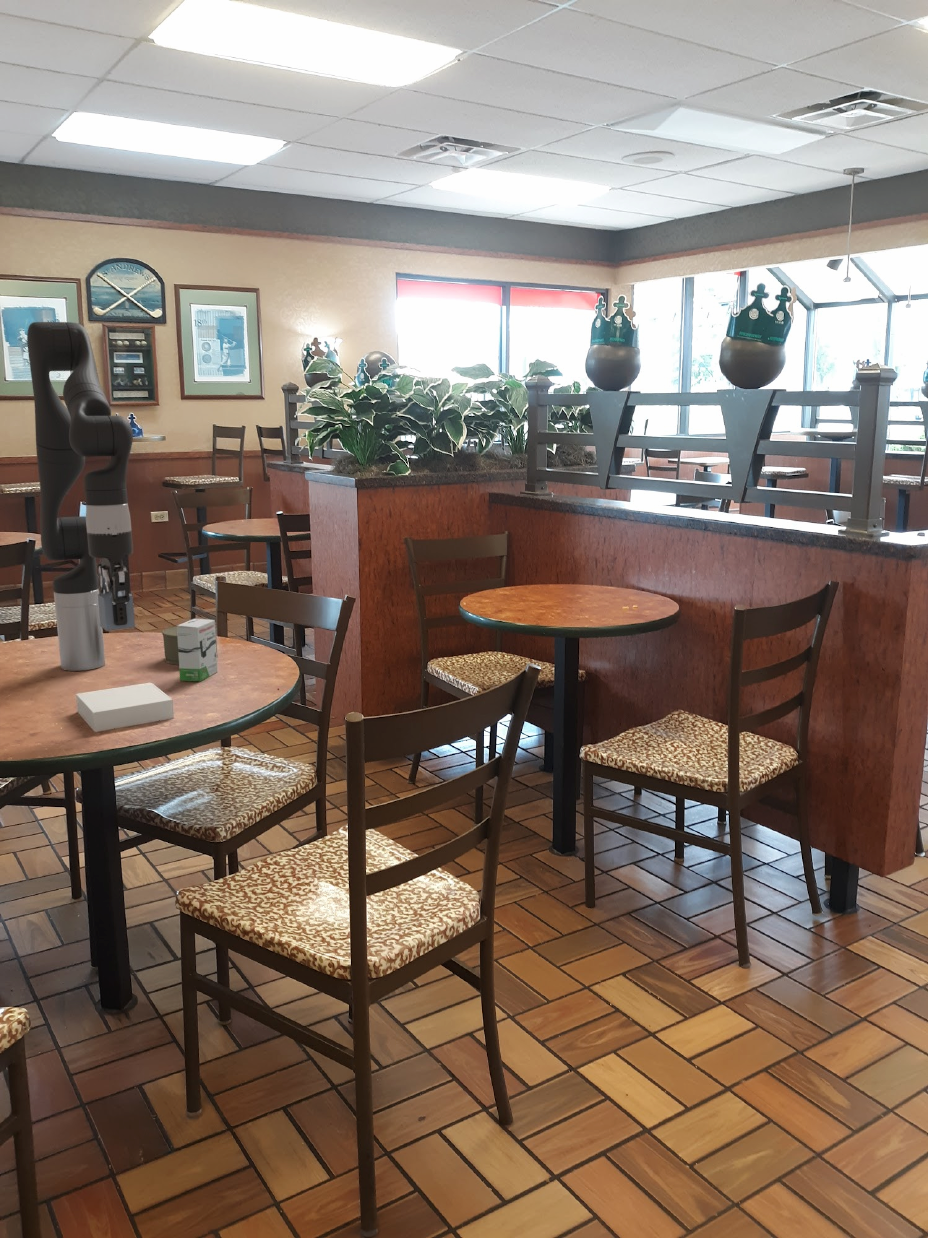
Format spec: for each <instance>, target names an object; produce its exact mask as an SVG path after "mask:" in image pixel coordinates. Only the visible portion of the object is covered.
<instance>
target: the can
mask: <svg viewBox="0 0 928 1238" xmlns="http://www.w3.org/2000/svg"><path fill="white" fill-rule="evenodd" d="M177 626H178V625H176V626H170V627H167V628H165V629H163V630H162V631H161V632H162V633H161V634H162V636H163V647H164V657H165V658H164V661H165V663H167V664H169V665H173V666H174V665H176V666H179V654H178V638H177ZM217 631H218V628H217V627H216V626H215V634H216V635H217ZM217 643H218V641H217V637H216V652H217V653H218V644H217ZM217 658H218V654H217Z"/></svg>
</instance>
